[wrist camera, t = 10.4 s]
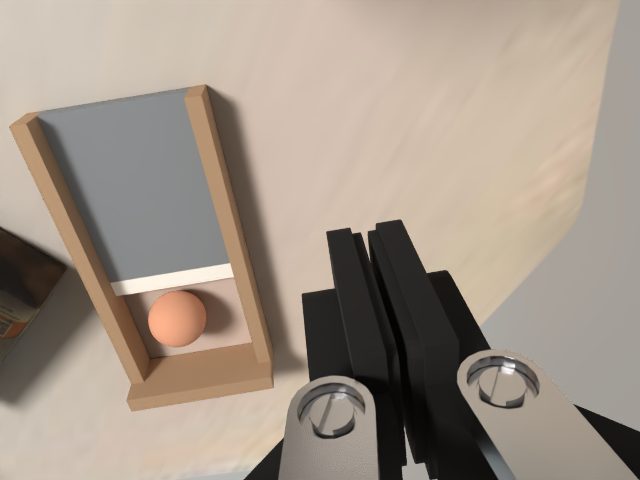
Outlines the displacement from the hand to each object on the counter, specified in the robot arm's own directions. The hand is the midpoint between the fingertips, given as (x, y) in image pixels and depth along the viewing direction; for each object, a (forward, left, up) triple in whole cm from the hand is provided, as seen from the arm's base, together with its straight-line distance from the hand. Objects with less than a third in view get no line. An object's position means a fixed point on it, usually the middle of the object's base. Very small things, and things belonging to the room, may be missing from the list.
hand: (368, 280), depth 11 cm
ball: (+21, -14, -27) cm, 37 cm away
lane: (+15, -14, -29) cm, 36 cm away
